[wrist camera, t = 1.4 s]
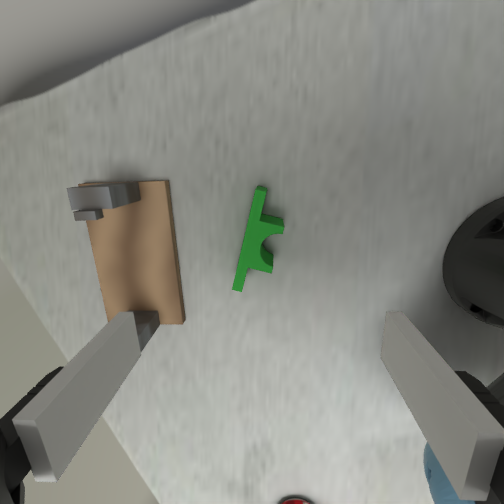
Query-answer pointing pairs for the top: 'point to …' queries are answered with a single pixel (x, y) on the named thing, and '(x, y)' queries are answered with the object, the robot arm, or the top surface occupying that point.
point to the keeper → (133, 250)
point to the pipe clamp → (257, 240)
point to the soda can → (295, 501)
